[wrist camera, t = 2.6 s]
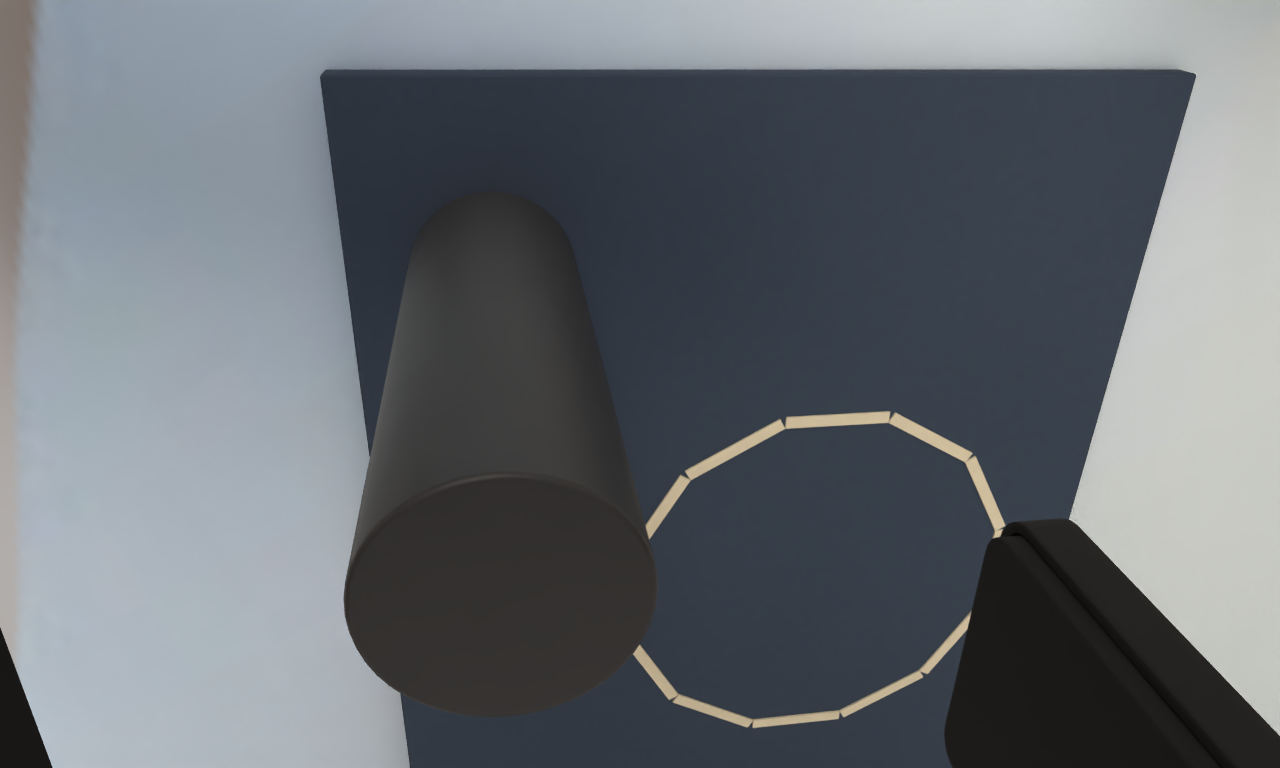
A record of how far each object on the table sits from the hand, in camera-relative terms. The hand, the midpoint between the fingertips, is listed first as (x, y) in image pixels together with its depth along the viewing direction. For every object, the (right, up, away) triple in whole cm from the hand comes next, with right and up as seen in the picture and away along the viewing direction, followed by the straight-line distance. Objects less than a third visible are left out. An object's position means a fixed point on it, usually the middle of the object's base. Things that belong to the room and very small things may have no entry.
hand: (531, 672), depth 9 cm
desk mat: (+4, -1, +15) cm, 15 cm away
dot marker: (-2, +6, +10) cm, 12 cm away
